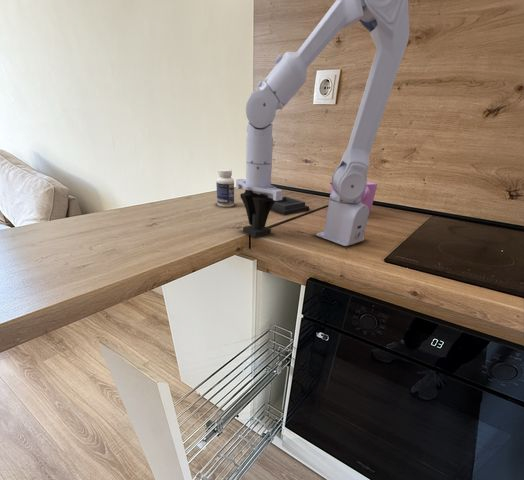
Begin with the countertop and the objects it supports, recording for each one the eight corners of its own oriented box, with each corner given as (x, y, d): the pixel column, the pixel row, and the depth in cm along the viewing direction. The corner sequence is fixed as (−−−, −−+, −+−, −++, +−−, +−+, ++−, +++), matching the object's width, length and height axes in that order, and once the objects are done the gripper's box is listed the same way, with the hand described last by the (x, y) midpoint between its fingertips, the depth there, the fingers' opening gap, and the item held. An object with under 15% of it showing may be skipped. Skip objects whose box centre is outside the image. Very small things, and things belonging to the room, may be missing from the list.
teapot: (336, 221, 88) (344, 181, 82) (309, 208, 98) (314, 172, 91) (382, 215, 95) (392, 179, 89) (352, 204, 105) (360, 170, 98)
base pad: (309, 209, 97) (310, 202, 95) (284, 214, 91) (284, 207, 89) (285, 202, 103) (285, 195, 101) (260, 206, 97) (260, 199, 96)
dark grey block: (270, 233, 77) (271, 215, 74) (255, 237, 74) (256, 218, 71) (257, 228, 80) (258, 210, 77) (242, 231, 77) (243, 213, 74)
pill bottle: (231, 208, 94) (231, 172, 88) (215, 206, 95) (213, 170, 89) (236, 203, 98) (236, 169, 92) (220, 202, 99) (219, 167, 93)
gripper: (225, 158, 69) (226, 220, 78) (267, 168, 61) (263, 237, 69) (249, 157, 73) (248, 216, 81) (291, 166, 65) (285, 231, 73)
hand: (256, 225), depth 76 cm, fingers closed on dark grey block, 2 cm apart
